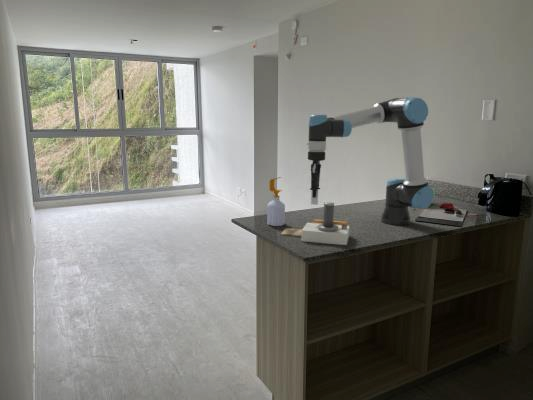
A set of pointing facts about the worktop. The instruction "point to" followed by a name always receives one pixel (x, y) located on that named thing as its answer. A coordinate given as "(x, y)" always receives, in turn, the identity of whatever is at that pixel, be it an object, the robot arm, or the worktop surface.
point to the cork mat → (292, 232)
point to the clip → (333, 222)
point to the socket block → (325, 234)
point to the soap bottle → (275, 208)
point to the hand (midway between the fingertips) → (314, 204)
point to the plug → (328, 218)
